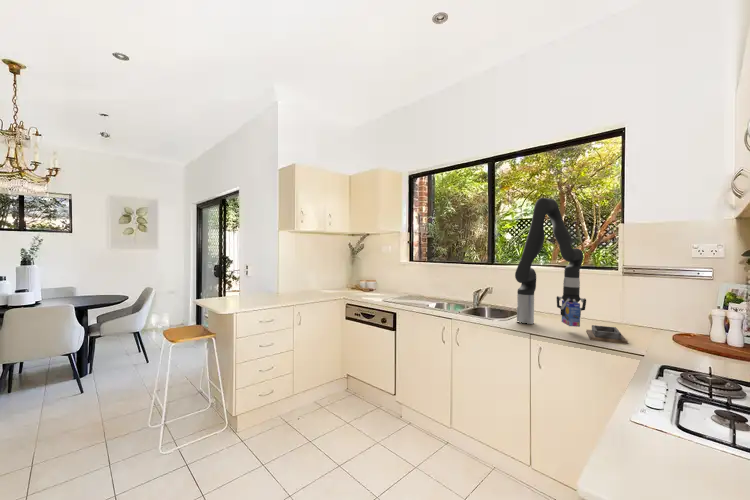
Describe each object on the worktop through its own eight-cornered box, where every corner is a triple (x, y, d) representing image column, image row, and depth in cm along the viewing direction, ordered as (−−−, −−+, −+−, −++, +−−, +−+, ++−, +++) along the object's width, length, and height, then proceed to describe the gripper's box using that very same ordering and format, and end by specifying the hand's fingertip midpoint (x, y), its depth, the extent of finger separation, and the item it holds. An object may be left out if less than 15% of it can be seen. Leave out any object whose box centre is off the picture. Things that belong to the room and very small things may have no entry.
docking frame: (590, 339, 165) (590, 331, 165) (586, 331, 181) (586, 323, 181) (627, 343, 158) (627, 335, 158) (620, 335, 174) (620, 327, 174)
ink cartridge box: (560, 322, 184) (561, 295, 183) (571, 322, 183) (572, 296, 183) (569, 326, 174) (570, 298, 174) (580, 327, 173) (581, 299, 173)
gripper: (556, 285, 178) (555, 316, 178) (588, 287, 171) (587, 320, 172) (555, 284, 185) (554, 314, 185) (586, 286, 178) (585, 317, 179)
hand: (570, 316), depth 179 cm, fingers closed on ink cartridge box, 6 cm apart
